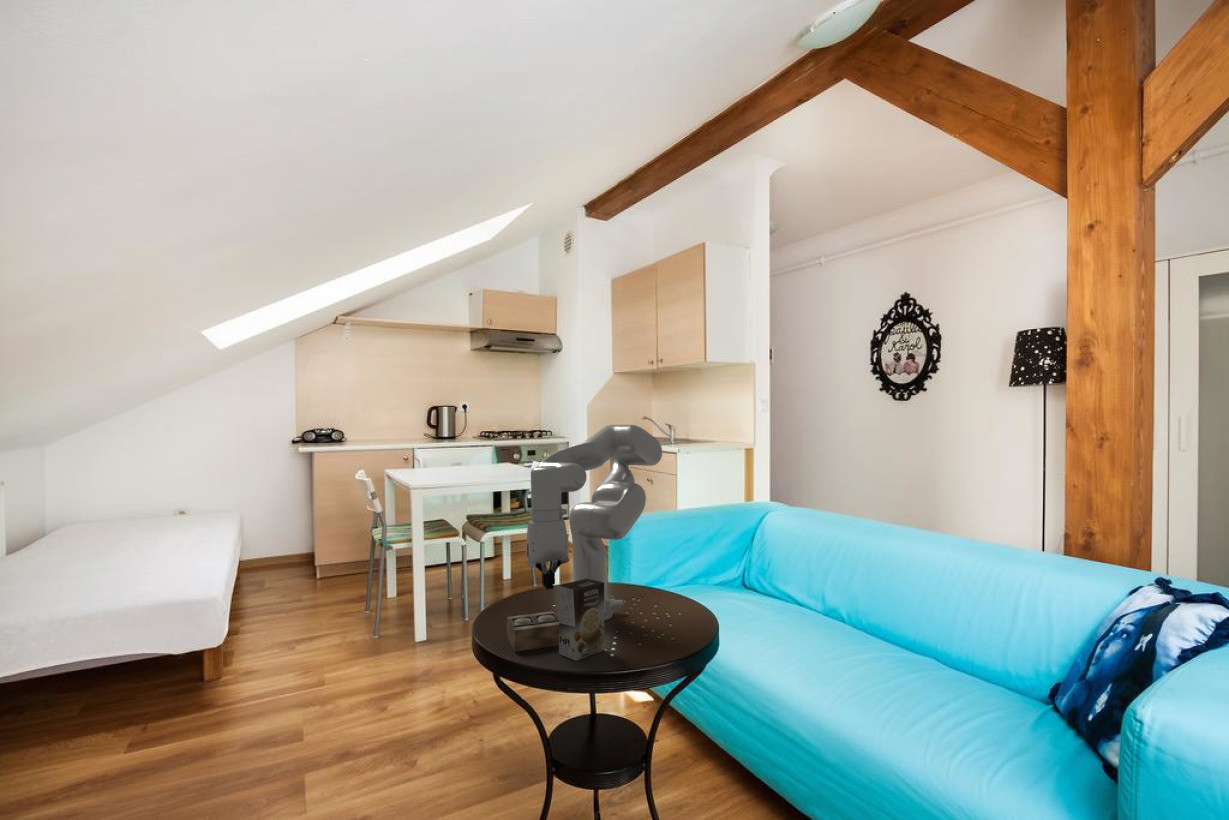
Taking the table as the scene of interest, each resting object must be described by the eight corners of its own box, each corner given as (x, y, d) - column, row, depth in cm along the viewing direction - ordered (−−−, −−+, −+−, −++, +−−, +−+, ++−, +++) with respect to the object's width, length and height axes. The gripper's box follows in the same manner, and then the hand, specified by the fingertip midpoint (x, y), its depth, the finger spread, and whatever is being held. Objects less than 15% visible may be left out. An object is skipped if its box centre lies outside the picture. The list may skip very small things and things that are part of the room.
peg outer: (529, 635, 142) (529, 617, 142) (532, 641, 138) (532, 622, 139) (513, 637, 141) (513, 619, 141) (516, 643, 137) (516, 624, 137)
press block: (553, 630, 147) (553, 610, 148) (563, 644, 138) (563, 622, 138) (506, 637, 143) (506, 615, 143) (514, 651, 134) (514, 629, 134)
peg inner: (552, 632, 144) (552, 614, 144) (556, 637, 141) (556, 619, 141) (536, 634, 143) (536, 616, 143) (540, 639, 139) (540, 621, 139)
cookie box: (576, 662, 128) (576, 590, 128) (558, 654, 132) (558, 585, 133) (605, 650, 135) (604, 582, 135) (586, 643, 139) (586, 577, 139)
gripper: (571, 510, 149) (572, 579, 149) (514, 515, 144) (516, 587, 144) (579, 515, 142) (581, 588, 142) (520, 520, 136) (522, 596, 137)
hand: (548, 587), depth 143 cm, fingers closed
